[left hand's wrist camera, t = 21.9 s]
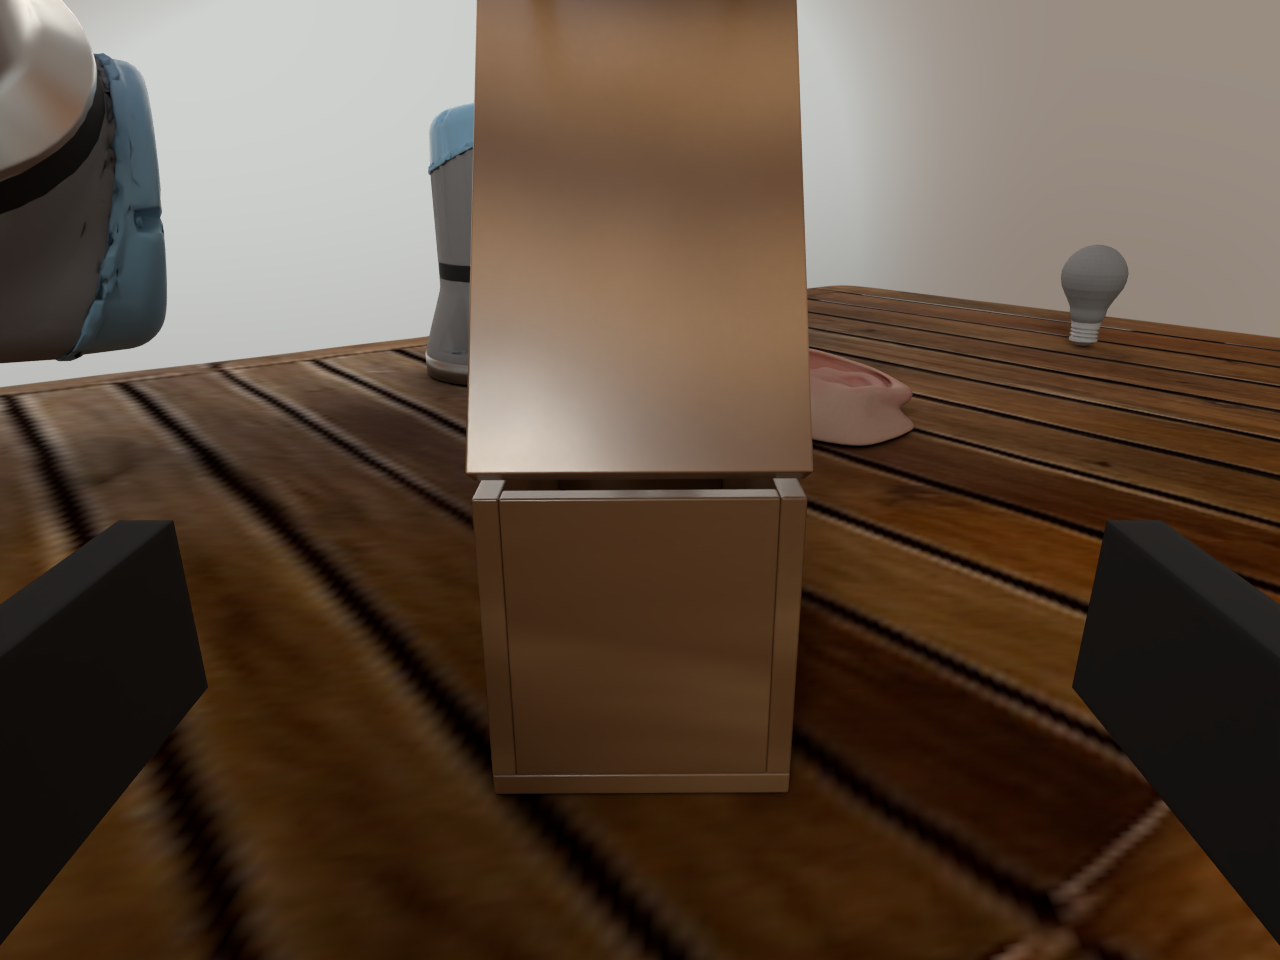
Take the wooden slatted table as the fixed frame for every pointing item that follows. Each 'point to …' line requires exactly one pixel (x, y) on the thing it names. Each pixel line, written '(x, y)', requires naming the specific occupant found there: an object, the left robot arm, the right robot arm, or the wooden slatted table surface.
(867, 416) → the anatomical model
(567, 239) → the lid
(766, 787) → the chest
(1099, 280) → the light bulb
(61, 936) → the wooden slatted table surface
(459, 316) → the right robot arm
